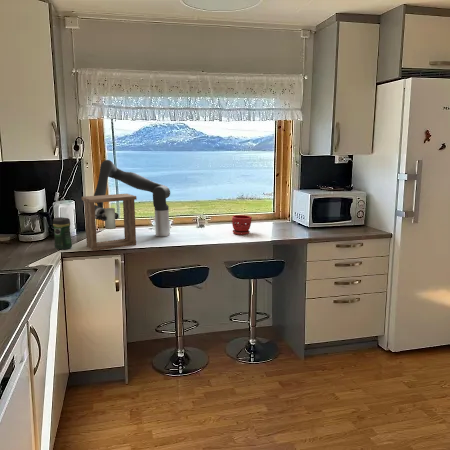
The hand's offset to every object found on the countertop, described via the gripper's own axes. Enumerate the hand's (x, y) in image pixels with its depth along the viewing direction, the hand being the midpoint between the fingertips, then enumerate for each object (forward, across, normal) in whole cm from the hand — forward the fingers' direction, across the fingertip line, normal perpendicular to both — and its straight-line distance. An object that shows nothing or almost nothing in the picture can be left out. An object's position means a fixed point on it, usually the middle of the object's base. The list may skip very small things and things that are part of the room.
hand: (111, 218), depth 258 cm
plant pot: (+14, +86, +17) cm, 89 cm away
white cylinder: (-2, 0, +7) cm, 7 cm away
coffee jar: (-11, -26, +18) cm, 33 cm away
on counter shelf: (-2, 0, +17) cm, 17 cm away
